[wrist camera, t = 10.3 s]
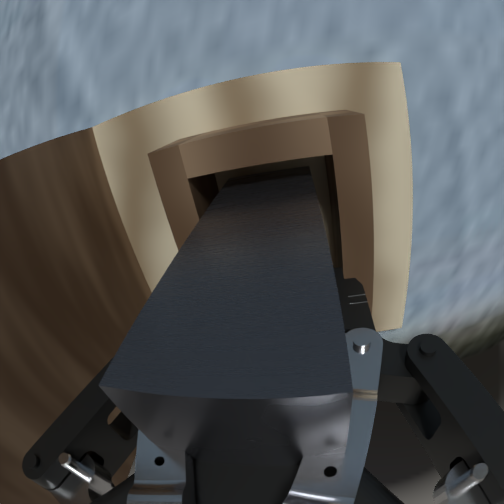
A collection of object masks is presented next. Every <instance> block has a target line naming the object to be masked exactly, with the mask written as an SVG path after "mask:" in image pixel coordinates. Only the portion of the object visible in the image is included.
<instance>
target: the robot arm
mask: <svg viewBox="0 0 504 504" xmlns="http://www.w3.org/2000/svg"><path fill="white" fill-rule="evenodd" d="M333 269H334V274H335V279H336V284H337V289H338V294H339V300H340V306H341V311H342V317H343V323H344V329H345V336H346V342H347V349H348V356H349V363H350V370H351V378H352V386H353V399H352V408H351V416H350V424H349V431H348V438H347V444H346V451H345V453H339V454H329V455H316V456H303V459H302V461H301V464H300V465H286V466H271V465H243V464H229V463H218V462H208V461H200V460H193V458H192V457H191V456H190V455H189V454H188V453H187V452H186V451H185V450H180V449H174V448H168V447H162V446H157V445H155V444H154V443H153V442H151V441H150V440H149V439H148V438H147V437H146V436H145V435H144V434H143V433H142V432H141V431H140V430H139V429H138V428H137V427H136V426H135V425H134V424H133V423H132V422H131V421H130V420H129V419H128V418H127V417H126V416H125V415H124V414H123V413H122V411H121V412H120V413H119V414H118V416H117V417H116V418H115V419H114V420H113V422H112V423H111V424H109V425H108V416H109V415H110V413H111V412H112V411H113V410H114V409H115V408H116V405H115V404H114V403H113V402H112V400H111V399H110V398H109V397H108V396H107V395H106V394H105V392H104V391H103V390H102V389H101V388H100V387H99V383H100V381H101V380H102V378H103V376H104V374H105V372H106V370H107V369H108V367H109V365H110V363H111V361H112V360H113V358H114V357H113V358H112V359H111V360H110V361H109V362H108V363H107V364H106V365H105V366H104V368H103V369H102V370H101V371H100V372H99V373H98V374H97V375H96V376H95V377H94V378H93V379H92V380H91V381H90V383H89V384H88V385H87V386H86V387H85V388H84V389H83V390H82V391H81V392H80V393H79V395H78V396H77V397H76V398H75V399H74V400H73V401H72V402H71V403H70V404H69V406H68V407H67V408H66V409H65V410H64V411H63V412H62V413H61V414H60V415H59V417H58V418H57V419H56V420H55V421H54V422H53V423H52V424H51V426H50V427H49V428H48V429H47V430H46V431H45V432H44V433H43V435H42V436H41V437H40V438H39V439H38V440H37V441H36V443H35V444H34V445H33V446H32V447H31V448H30V449H29V451H28V452H27V453H26V454H25V456H24V458H23V461H22V469H23V472H24V474H25V476H26V477H27V478H29V479H30V480H32V481H34V482H35V483H37V484H38V485H40V486H41V487H42V488H44V489H45V490H47V491H49V492H51V494H52V495H53V496H54V497H55V498H56V500H57V501H58V502H59V503H60V504H404V503H403V502H402V501H401V500H399V499H398V498H397V497H396V496H395V495H394V494H393V493H392V492H391V491H390V490H388V489H387V488H386V487H385V486H384V485H383V484H382V483H381V482H380V481H379V480H378V479H377V478H376V477H375V476H373V475H372V474H371V473H370V472H369V471H368V470H367V469H366V468H365V467H364V464H365V460H366V455H367V451H368V446H369V441H370V437H371V432H372V427H373V421H374V415H375V409H376V404H377V400H378V401H386V402H394V403H396V404H397V406H398V408H399V409H400V411H401V412H402V414H403V416H404V417H405V419H406V420H407V422H408V423H409V425H410V427H411V428H412V430H413V432H414V433H415V435H416V437H417V438H418V440H419V441H420V443H421V445H422V446H423V448H424V449H425V451H426V453H427V455H428V456H429V458H430V459H431V461H432V463H433V464H434V466H435V468H436V470H437V471H438V473H439V475H440V476H441V479H440V480H439V481H438V482H437V484H436V486H435V488H434V492H433V499H434V503H435V504H504V411H503V410H502V409H501V407H500V406H499V405H498V404H497V402H496V401H495V400H494V399H493V397H492V396H491V395H490V394H489V393H488V391H487V390H486V389H485V388H484V387H483V385H482V384H481V383H480V382H479V380H478V379H477V378H476V377H475V376H474V375H473V373H472V372H471V371H470V370H469V369H468V368H467V366H466V365H465V364H464V363H463V362H462V361H461V360H460V358H459V357H458V356H457V355H456V354H455V353H454V352H453V351H452V350H451V348H450V347H449V346H448V345H447V344H446V343H445V342H444V341H443V340H442V339H441V338H439V337H438V336H436V335H432V334H421V335H418V336H416V337H414V338H413V339H412V340H411V341H410V342H409V344H400V343H393V342H389V341H387V340H385V339H383V338H382V337H381V336H380V334H379V333H377V332H376V329H375V326H374V322H373V319H372V315H371V312H370V308H369V305H368V302H367V298H366V295H365V291H364V288H363V285H362V284H361V283H360V282H359V281H358V280H357V279H356V278H348V279H344V276H343V272H342V268H341V267H337V268H333ZM136 446H137V449H136V462H135V473H134V474H133V475H131V476H130V477H128V478H127V479H126V480H124V481H123V482H121V483H120V484H118V485H117V486H115V485H114V484H113V483H112V477H113V475H114V474H115V473H116V472H117V470H118V469H119V468H120V467H121V465H122V464H123V463H124V462H125V460H126V459H127V458H128V457H129V455H130V454H131V453H132V451H133V450H134V449H135V448H136Z"/></svg>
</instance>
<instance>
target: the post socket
mask: <svg viewBox="0 0 504 504" xmlns="http://www.w3.org/2000/svg"><path fill="white" fill-rule="evenodd" d="M304 166H309V167H310V171H311V175H312V179H313V182H314V186H315V190H316V194H317V198H318V202H319V206H320V210H321V214H322V218H323V223H324V227H325V231H326V236H327V240H328V245H329V249H330V254H331V259H332V264H333V268H337V267H341V268H342V272H343V276H344V279H348V278H356V279H357V280H358V281H359V282H360V283H361V284H362V285H363V288H364V291H365V295H366V298H367V302H368V305H369V308H370V312H371V315H372V319H373V322H374V326H375V329H376V332H378V331H385V330H391V329H397V328H402V322H403V316H404V309H405V302H406V295H407V286H408V277H409V267H410V255H411V239H412V213H413V181H412V155H411V140H410V128H409V118H408V109H407V101H406V94H405V87H404V81H403V75H402V69H401V64H400V62H367V63H345V64H331V65H320V66H311V67H302V68H295V69H288V70H281V71H275V72H269V73H263V74H258V75H253V76H248V77H243V78H238V79H234V80H230V81H225V82H221V83H217V84H213V85H209V86H206V87H202V88H198V89H195V90H191V91H188V92H185V93H181V94H178V95H175V96H172V97H169V98H166V99H163V100H160V101H157V102H154V103H151V104H148V105H145V106H143V107H140V108H137V109H135V110H132V111H130V112H127V113H124V114H122V115H120V116H117V117H115V118H112V119H110V120H108V121H105V122H103V123H101V124H99V125H96V126H94V127H92V128H88V129H85V130H81V131H78V132H74V133H71V134H68V135H65V136H62V137H58V138H55V139H52V140H50V141H47V142H44V143H41V144H38V145H35V146H33V147H30V148H27V149H25V150H22V151H20V152H17V153H15V154H12V155H10V156H8V157H5V158H3V159H1V160H0V504H60V503H59V502H58V501H57V500H56V498H55V497H54V496H53V495H52V494H51V492H49V491H47V490H45V489H44V488H42V487H41V486H40V485H38V484H37V483H35V482H34V481H32V480H30V479H29V478H27V477H26V476H25V474H24V472H23V469H22V461H23V458H24V456H25V454H26V453H27V452H28V451H29V449H30V448H31V447H32V446H33V445H34V444H35V443H36V441H37V440H38V439H39V438H40V437H41V436H42V435H43V433H44V432H45V431H46V430H47V429H48V428H49V427H50V426H51V424H52V423H53V422H54V421H55V420H56V419H57V418H58V417H59V415H60V414H61V413H62V412H63V411H64V410H65V409H66V408H67V407H68V406H69V404H70V403H71V402H72V401H73V400H74V399H75V398H76V397H77V396H78V395H79V393H80V392H81V391H82V390H83V389H84V388H85V387H86V386H87V385H88V384H89V383H90V381H91V380H92V379H93V378H94V377H95V376H96V375H97V374H98V373H99V372H100V371H101V370H102V369H103V368H104V366H105V365H106V364H107V363H108V362H109V361H110V360H111V359H112V358H113V357H114V356H115V354H116V352H117V351H118V349H119V347H120V345H121V344H122V342H123V340H124V338H125V337H126V335H127V333H128V332H129V330H130V328H131V327H132V325H133V323H134V321H135V320H136V318H137V316H138V315H139V313H140V311H141V310H142V308H143V307H144V305H145V303H146V302H147V300H148V298H149V297H150V295H151V293H152V292H153V290H154V289H155V287H156V285H157V284H158V282H159V281H160V279H161V278H162V276H163V274H164V273H165V271H166V270H167V268H168V267H169V265H170V264H171V262H172V260H173V259H174V257H175V256H176V254H177V253H178V251H179V250H180V248H181V247H182V245H183V244H184V242H185V241H186V239H187V238H188V236H189V235H190V233H191V232H192V230H193V229H194V227H195V226H196V224H197V223H198V221H199V220H200V219H201V217H202V216H203V214H204V213H205V211H206V210H207V208H208V207H209V206H210V204H211V203H212V201H213V200H214V198H215V197H216V196H217V194H218V193H219V191H220V190H221V189H222V187H223V186H224V184H225V183H226V182H227V180H228V179H229V178H233V177H239V176H245V175H251V174H257V173H263V172H269V171H276V170H282V169H289V168H296V167H304ZM120 412H121V410H120V409H119V408H118V407H117V406H116V408H115V409H114V410H113V411H112V412H111V413H110V415H109V416H108V425H109V424H111V423H112V422H113V420H114V419H115V418H116V417H117V416H118V414H119V413H120ZM136 449H137V446H136V448H135V449H134V450H133V451H132V453H131V454H130V455H129V457H128V458H127V459H126V460H125V462H124V463H123V464H122V465H121V467H120V468H119V469H118V470H117V472H116V473H115V474H114V475H113V477H112V483H113V484H114V485H115V486H117V485H118V484H120V483H121V482H123V481H124V480H126V479H127V478H128V475H129V472H130V469H131V466H132V463H133V460H134V458H135V455H136Z"/></svg>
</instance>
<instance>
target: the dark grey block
mask: <svg viewBox="0 0 504 504" xmlns="http://www.w3.org/2000/svg"><path fill="white" fill-rule="evenodd" d="M99 387H100V388H101V389H102V390H103V391H104V392H105V394H106V395H107V396H108V397H109V398H110V399H111V400H112V402H113V403H114V404H115V405H116V406H117V407H118V408H119V409H120V410H121V411H122V413H123V414H124V415H125V416H126V417H127V418H128V419H129V420H130V421H131V422H132V423H133V424H134V425H135V426H136V427H137V428H138V429H139V430H140V431H141V432H142V433H143V434H144V435H145V436H146V437H147V438H148V439H149V440H150V441H151V442H153V443H154V444H155V445H157V446H162V447H168V448H174V449H180V450H185V451H186V452H187V453H188V454H189V455H190V456H191V457H192V458H193V460H200V461H208V462H218V463H229V464H243V465H271V466H286V465H300V464H301V461H302V459H303V456H316V455H329V454H339V453H345V451H346V444H347V438H348V431H349V424H350V416H351V408H352V399H353V386H352V378H351V370H350V363H349V356H348V349H347V342H346V336H345V329H344V323H343V317H342V311H341V306H340V300H339V294H338V289H337V284H336V279H335V274H334V269H333V264H332V259H331V254H330V249H329V245H328V240H327V236H326V231H325V227H324V223H323V218H322V214H321V210H320V206H319V202H318V198H317V194H316V190H315V186H314V182H313V179H312V175H311V171H310V167H309V166H304V167H296V168H289V169H282V170H276V171H269V172H263V173H257V174H251V175H245V176H239V177H233V178H229V179H228V180H227V182H226V183H225V184H224V186H223V187H222V189H221V190H220V191H219V193H218V194H217V196H216V197H215V198H214V200H213V201H212V203H211V204H210V206H209V207H208V208H207V210H206V211H205V213H204V214H203V216H202V217H201V219H200V220H199V221H198V223H197V224H196V226H195V227H194V229H193V230H192V232H191V233H190V235H189V236H188V238H187V239H186V241H185V242H184V244H183V245H182V247H181V248H180V250H179V251H178V253H177V254H176V256H175V257H174V259H173V260H172V262H171V264H170V265H169V267H168V268H167V270H166V271H165V273H164V274H163V276H162V278H161V279H160V281H159V282H158V284H157V285H156V287H155V289H154V290H153V292H152V293H151V295H150V297H149V298H148V300H147V302H146V303H145V305H144V307H143V308H142V310H141V311H140V313H139V315H138V316H137V318H136V320H135V321H134V323H133V325H132V327H131V328H130V330H129V332H128V333H127V335H126V337H125V338H124V340H123V342H122V344H121V345H120V347H119V349H118V351H117V352H116V354H115V356H114V358H113V360H112V361H111V363H110V365H109V367H108V369H107V370H106V372H105V374H104V376H103V378H102V380H101V381H100V383H99Z"/></svg>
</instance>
